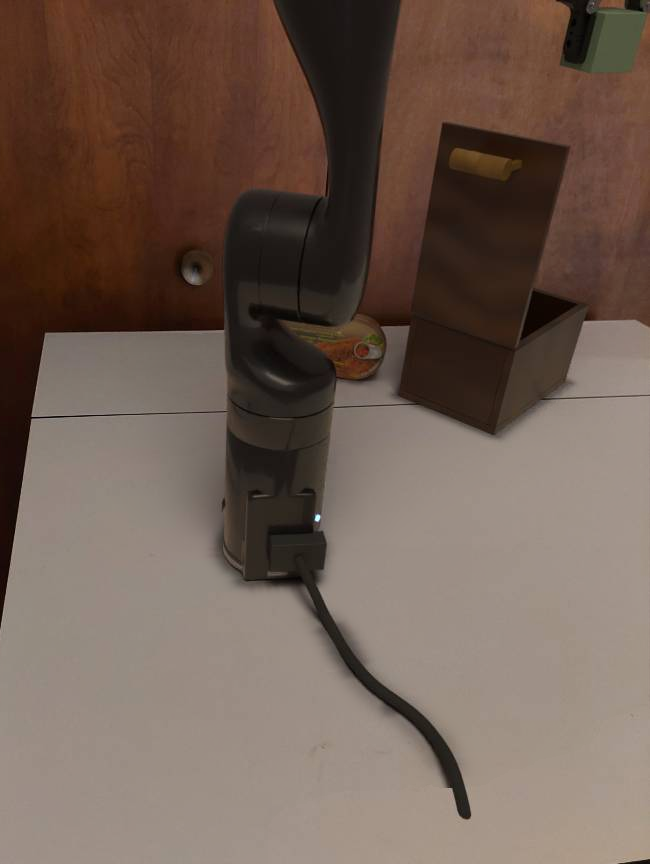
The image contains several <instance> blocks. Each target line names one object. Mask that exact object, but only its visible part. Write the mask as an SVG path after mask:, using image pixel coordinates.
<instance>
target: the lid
mask: <svg viewBox="0 0 650 864" xmlns="http://www.w3.org/2000/svg"><path fill="white" fill-rule="evenodd" d="M570 150H571V145H569V144H562V143H557V142H551V141H546V140H542V139H536V138H532V137H526V136H522V135H516V134H511V133H505V132H500V131H495V130H492V129H491V130H490V129H485V128H480V127H475V126H469V125H464V124H459V123H455V122H449V121H443V122H441V128H440V133H439V140H438V145H437V151H436V152H437V153H436V158H435V163H434V169H433V176H432V182H431V188H430V193H429V199H428V206H427V212H426V218H425V223H424V229H423V235H422V240H421V246H420V251H419V252H420V253H419V259H418V265H417V270H416V271H417V272H416V277H415V282H414V287H413V288H414V289H413V294H412V300H411V305H410V306H411V307H410V311H409V312H410V313H411V314H412V315H413V314H416V315H419V316H422V317H425V318H428V319H431V320H434V321H437V322H440V323H442V324H445V325H448V326H451V327H454V328H457V329H460V330H463V331H466V332H469V333H471V334H474V335H477V336H480V337H483V338H486V339H489V340H492V341H495V342H498V343H501V344H503V345H506V346H509V347H512V348H516V347H518V345H519V341H520V337H521V333H522V330H523V326H524V322H525V318H526V314H527V311H528V307H529V303H530V299H531V295H532V291H533V288H535V284H536V279H537V276H538V272H539V269H540V264H541V259H542V257H543V253H544V249H545V245H546V242H547V238H548V234H549V230H550V226H551V222H552V219H553V215H554V212H555V207H556V204H557V201H558V197H559V192H560V188H561V185H562V180H563V177H564V173H565V169H566V165H567V162H568V157H569V154H570Z"/></svg>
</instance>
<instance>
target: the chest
mask: <svg viewBox="0 0 650 864" xmlns="http://www.w3.org/2000/svg"><path fill="white" fill-rule="evenodd" d="M589 305H590V304H589V303H586V302H583V301H580V300H576V299H573V298H570V297H566V296H562V295H560V294H556V293H553V292H549V291H547V290H543V289H539V288H536V287H534V288H533V291H532V295H531V299H530V303H529V307H528V311H527V314H526V318H525V322H524V326H523V330H522V333H521V337H520V341H519V345H518V347H516V348H512V347H509V346H506V345H503V344H501V343H498V342H495V341H492V340H489V339H486V338H483V337H480V336H477V335H474V334H471V333H469V332H466V331H463V330H460V329H457V328H454V327H451V326H448V325H445V324H442V323H440V322H437V321H434V320H431V319H428V318H425V317H422V316H419V315H416V314H413V313H412V315H411V316H410V321H409V322H410V323H409V328H408V334H407V339H406V340H407V341H406V346H405V352H404V357H403V364H402V370H401V375H400V381H399V386H398V393H397V395H398V397H401V398H403V399H405V400H408V401H411V402H413V403H416V404H418V405H420V406H423V407H425V408H427V409H429V410H432V411H435V412H437V413H439V414H443V415H445V416H447V417H449V418H451V419H455V420H457V421H459V422H462V423H464V424H466V425H469V426H471V427H474V428H475V429H478V430H481V431H484V432H486V433H488V434H490V435H495V434H497V433H498V432H500V431H501V430H502V429H504V428H506V426H507V425H509V424H510V423H512V422H513V421H514V420H516V419H517V418H519V416H521V415H523V414H524V413H525V412H526V411H527V410H529V409H531V408H532V407H533V406H534V405H536V404H537V403H539V402H540V401H541V400H543V399H544V398H545V397H547V396H548V395H549V394H551V392H554V391H555V390H556V389H557V388H558V387H560V386H562V385H563V384H564V383H565V382H566V380H567V378H568V374H569V370H570V367H571V364H572V360H573V358H574V354H575V351H576V348H577V344H578V341H579V339H580V335H581V331H582V328H583V325H584V322H585V318H586V314H587V312H588V309H589Z"/></svg>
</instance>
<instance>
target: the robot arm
mask: <svg viewBox="0 0 650 864" xmlns="http://www.w3.org/2000/svg"><path fill="white" fill-rule="evenodd" d="M602 1H603V0H555V2H557V3H561V4H563V5H564V6H566V7H567V8H568V9H569V12H570V15H569V19H568V24H567V28H566V32H565V36H564V40H563V44H562V51H563V54H564V60H565V61H566V62H569V63H573V64H582V63H584V61H585V59H586V56H587V52H588V48H589V44H590V40H591V36H592V32H593V28H594V25H595V21H596V17H597V15H593V13H595V12H596V11H597V9H598V7H600V5H601V3H602ZM272 3H273V5H274V8H275V10H276V13H277V16H278V18H279V22H280V23H281V26H282V29H283V31H284V34H285V36H286V38H287V40H288V43H289V45H290V47H291V49H292V51H293V54H294V56H295V58H296V61H297V63H298V65H299V67H300V70H301V72H302V74H303V77H304V78H305V81H306V84H307V86H308V89H309V91H310V94H311V96H312V99H313V102H314V105H315V108H316V111H317V114H318V118H319V122H320V125H321V129H322V133H323V138H324V145H325V149H326V150H325V151H326V159H327V160H326V161H327V176H328V177H327V179H328V196H325V195H317V194H309V193H303V192H295V191H294V192H293V191H287V190H279V189H271V188H261V187H260V188H259V187H257V188H256V187H255V188H250V189H249V188H248V189H246V190H245V191H243V192H242V193H240V194H239V196H237V198H236V199H235V201H234V202H233V203H232V206H231V208H230V211H229V213H228V216H227V218H226V224H225V227H224V232H223V238H222V239H223V240H222V252H221V253H222V255H221V284H222V285H221V286H222V305H223V306H222V307H223V308H222V309H223V331H224V333H223V334H224V335H223V336H224V367H225V372H226V422H225V423H226V424H225V425H226V426H225V427H226V428H225V472H224V473H225V474H224V497H223V499H222V501H221V512H223V513H224V519H223V521H224V523H223V526H224V528H223V536H222V550H223V554H224V557H225V558H226V560H227V562H228V563H229V564H230V565H232V566H233V567H234V568H236V569H237V570H238V571H240V572H242V575H243V579H244V580H246V581H249V580H250V581H253V580H269V579H270V580H277V579H278V580H279V579H293V578H296V579H297V578H301V580H302V581H303V584H304V586H305V588H306V590H307V593H308V595H309V597H310V598H311V601H312V603H313V605H314V608H315V610H316V612H317V614H318V616H319V618H320V620H321V622H322V623H323V625H324V627H325V629H326V631H327V632H328V635H329V636H330V638H331V639H332V641H333V644H334V645H335V647H336V648H337V650H338V652H339V653H340V655H341V657H342V659H344V661H345V662H346V664H347V665H348V666H349V667H350V669H351V670H352V671H353V672H354V674H355V675H356V676H357V677H358V678H359V679H360V680H361V681H362V682H363V683H364V684H365V685H366V686H367V687H368V688H369V689H370V690H372V692H374V693H375V694H376V695H377V696H379V697H380V698H382V699H383V700H384V701H385V702H387V703H388V704H390V705H391V706H392V707H394V708H395V709H397V710H399V711H400V712H401V713H402V714H404V715H405V716H406V717H407V718H408V719H410V720H411V721H412V722H413V723H414V724H415V725H416V726H417V727H418V728H419V729H420V731H422V733H423V734H424V735H425V737H426V738H427V739H428V740H429V742H430V743H431V744H432V746H433V748H434V749H435V750H436V753H437V754H438V756H439V757H440V759H441V762H442V763H443V765H444V768H445V771H446V774H447V777H448V780H449V783H450V786H451V790H452V795H453V797H454V798H453V799H454V802H455V806H456V811H457V814H458V817H460V818H461V819H462V820H466V821H468V820H470V819H471V818H472V811H471V805H470V801H469V800H470V799H469V796H468V793H467V792H468V791H467V789H466V786H465V782H464V777H463V776H462V772H461V769H460V766H459V765H458V764H459V763H458V762H457V760H456V758H455V755H454V753H453V751H452V750H451V748H450V746H449V745H448V743H447V742H446V741H445V739H444V738H443V736H442V735H441V734H440V732H439V731H438V730H437V728H436V727H435V726H434V725H433V724H432V723H431V721H430V720H429V719H428V718H427V717H425V715H424V714H423V713H422V712H420V711H419V710H418V709H417V708H415V707H414V706H413V705H412V704H410V703H409V702H408V701H406V700H405V699H403V698H402V697H401V696H399V694H397V693H395V692H394V691H392V690H391V689H390V688H388V687H386V686H385V685H384V684H383V683H382V682H380V681H379V680H378V679H377V678H376V677H374V676H373V674H371V672H369V670H368V669H367V668H366V667H365V665H363V663H361V661H360V659H358V657H357V656H356V654H355V653H354V652H353V650H352V649H351V648H350V646H349V645H348V643H347V641H346V640H345V638H344V636H343V634H342V632H341V631H340V629H339V627H338V625H337V623H336V621H335V620H334V618H333V616H332V615H331V613H330V611H329V609H328V607H327V605H326V603H325V600H324V598H323V596H322V594H321V591H320V589H319V587H318V585H317V583H316V581H315V579H314V577H313V574H312V573H311V571H323V570H325V561H326V554H327V547H328V543H327V539H326V535H325V532H324V530H321V523H322V513H323V503H324V495H325V486H326V477H327V468H328V460H329V451H330V443H331V441H330V440H331V433H332V426H333V416H334V410H335V409H334V407H335V399H336V392H337V391H336V390H337V384H338V383H337V382H338V377H337V371H336V366H335V364H334V362H333V360H332V359H331V358H330V356H329V355H328V354H326V353H325V352H324V351H323V350H321V349H320V348H318V347H317V346H315V345H313V344H312V343H310V342H308V341H307V340H305V339H304V338H302V337H301V336H299V335H298V334H296V333H295V332H294V331H293V330H292V329H291V328H289V327H288V326H287V324H286V323H285V322H284V321H283V320H286V321H292V322H298V323H304V324H310V325H317V326H323V327H330V328H341V327H344V326H346V325H348V324H349V323H350V322H351V321H352V320H353V319H354V318H355V316H356V314H358V312H359V310H360V308H361V306H362V302H363V300H364V297H365V293H366V289H367V285H368V279H369V274H370V268H371V261H372V252H373V243H374V234H375V233H374V232H375V224H376V223H375V222H376V221H375V220H376V212H377V210H376V209H377V201H378V200H377V199H378V189H379V178H380V166H381V157H382V144H383V134H384V123H385V115H386V114H385V113H386V104H387V97H388V89H389V82H390V76H391V70H392V64H393V58H394V52H395V46H396V41H397V40H396V39H397V34H398V28H399V22H400V16H401V10H402V6H403V5H402V3H403V0H272ZM623 5H624V9H628V10H634V11H640V12H646V13H648V14H650V0H624V4H623Z"/></svg>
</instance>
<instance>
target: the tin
mask: <svg viewBox="0 0 650 864" xmlns="http://www.w3.org/2000/svg"><path fill="white" fill-rule="evenodd" d="M283 321H284V322H285V323H286V324H287V326H288V327H289V328H291V329H292V330H293V331H294V332H295V333H296V334H298V335H299V336H301V337H302V338H304V339H305V340H307V341H308V342H310V343H312V344H313V345H315V346H317V347H318V348H320V349H321V350H323V351H324V352H325V353H326V354H328V355H329V356H330V358H331V359H332V360H333V362H334V364H335V366H336V371H337V378H339V379H340V378H341V379H348V380H363V379H366V378H368V377H371V376H372V375H373V374H375V373H376V372H377V371H378V370H379V369H380V368H381V366H382V364H383V362H384V360H385V357H386V352H387V347H388V346H387V345H388V343H387V337H386V333H385V331H384V329H383V328H382V326H381V325H380V324H379V322H378V321H376V320H375V319H373V318H372V317H371V316H368V315H365V314H361V313H357V314H356V316H355V318H354V319H353V320H352V321H351V322H350V323H349V324H348V325H346V326H344V327H341V328H330V327H323V326H317V325H310V324H304V323H298V322H292V321H286V320H283Z"/></svg>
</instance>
